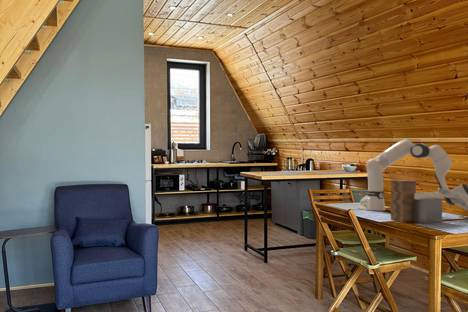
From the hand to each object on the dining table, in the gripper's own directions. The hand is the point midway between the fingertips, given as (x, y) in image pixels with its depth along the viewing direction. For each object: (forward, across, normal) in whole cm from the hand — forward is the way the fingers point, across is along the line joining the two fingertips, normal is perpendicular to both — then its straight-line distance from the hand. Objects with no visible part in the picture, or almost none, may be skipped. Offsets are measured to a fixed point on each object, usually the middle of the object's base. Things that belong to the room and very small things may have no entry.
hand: (444, 190), depth 286 cm
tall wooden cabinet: (+15, -8, +28) cm, 33 cm away
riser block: (+7, +3, +24) cm, 25 cm away
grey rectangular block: (+13, +2, +10) cm, 16 cm away
